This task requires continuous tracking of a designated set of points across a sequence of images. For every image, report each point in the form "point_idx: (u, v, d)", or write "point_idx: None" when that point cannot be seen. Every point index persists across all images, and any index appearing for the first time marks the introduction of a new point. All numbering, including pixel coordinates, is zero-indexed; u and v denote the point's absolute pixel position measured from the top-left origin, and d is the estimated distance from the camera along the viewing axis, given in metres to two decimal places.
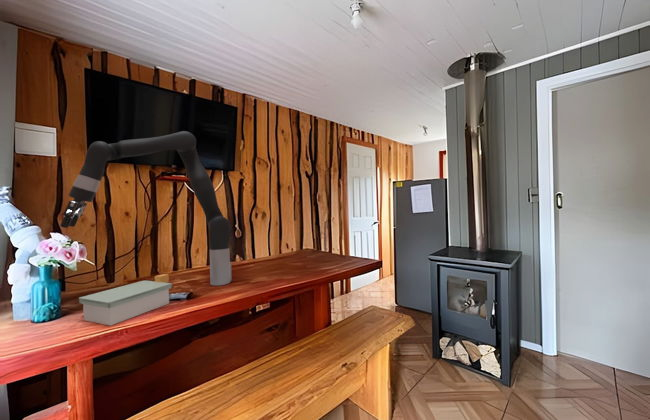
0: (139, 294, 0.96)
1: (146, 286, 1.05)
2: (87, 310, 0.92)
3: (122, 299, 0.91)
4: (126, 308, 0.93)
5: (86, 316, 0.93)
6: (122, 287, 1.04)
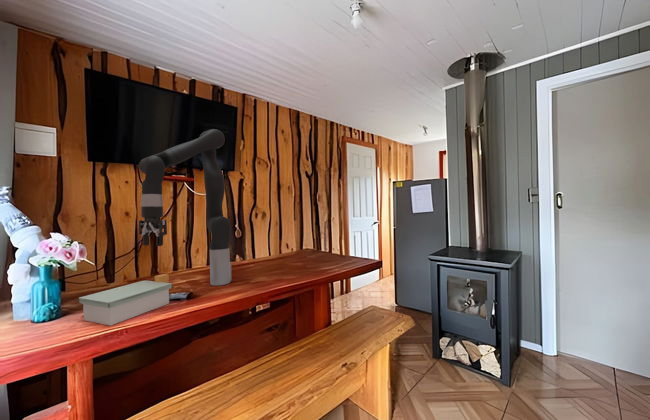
0: (139, 294, 0.96)
1: (146, 286, 1.05)
2: (87, 310, 0.92)
3: (122, 299, 0.91)
4: (126, 308, 0.93)
5: (86, 316, 0.93)
6: (122, 287, 1.04)
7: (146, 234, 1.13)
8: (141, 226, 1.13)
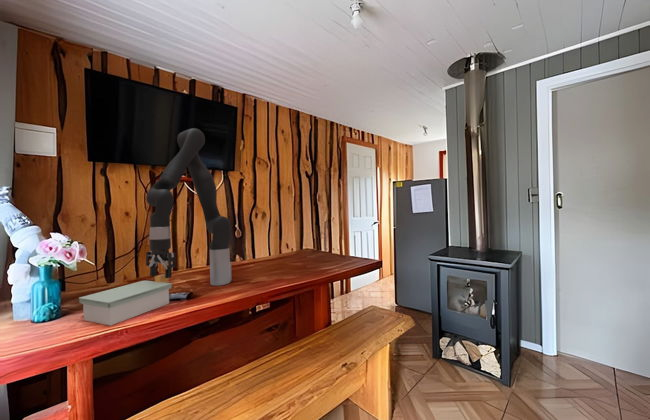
0: (139, 294, 0.96)
1: (146, 286, 1.05)
2: (87, 310, 0.92)
3: (122, 299, 0.91)
4: (126, 308, 0.93)
5: (86, 316, 0.93)
6: (122, 287, 1.04)
7: (153, 265, 1.14)
8: (148, 257, 1.14)
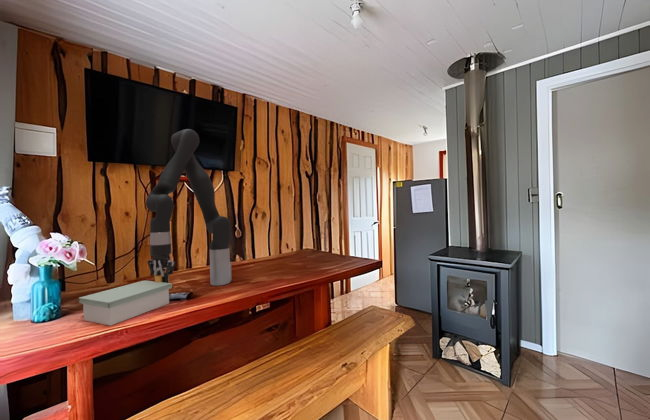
0: (139, 294, 0.96)
1: (146, 286, 1.05)
2: (87, 310, 0.92)
3: (122, 299, 0.91)
4: (126, 308, 0.93)
5: (86, 316, 0.93)
6: (122, 287, 1.04)
7: (158, 273, 1.14)
8: (151, 265, 1.14)
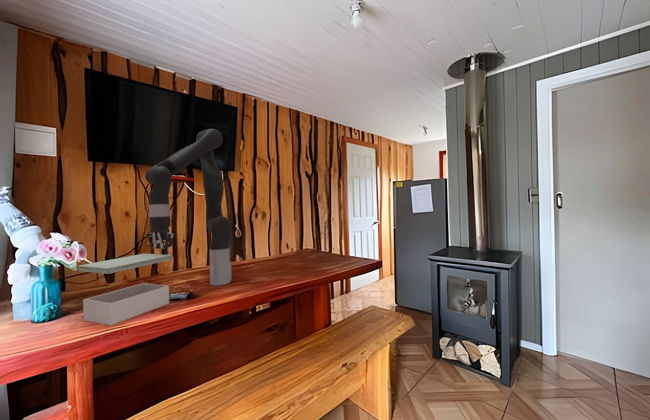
0: (139, 263, 0.96)
1: (146, 257, 1.04)
2: (87, 310, 0.92)
3: (122, 266, 0.91)
4: (126, 308, 0.93)
5: (86, 316, 0.93)
6: (121, 258, 1.04)
7: (158, 246, 1.13)
8: (150, 238, 1.13)
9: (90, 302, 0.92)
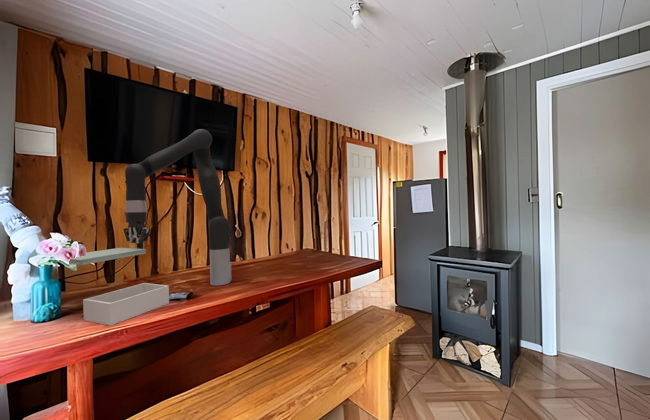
0: (112, 255, 1.01)
1: (120, 250, 1.09)
2: (87, 310, 0.92)
3: (94, 258, 0.96)
4: (126, 308, 0.93)
5: (86, 316, 0.93)
6: (97, 251, 1.08)
7: (134, 240, 1.18)
8: (127, 233, 1.18)
9: (90, 302, 0.92)
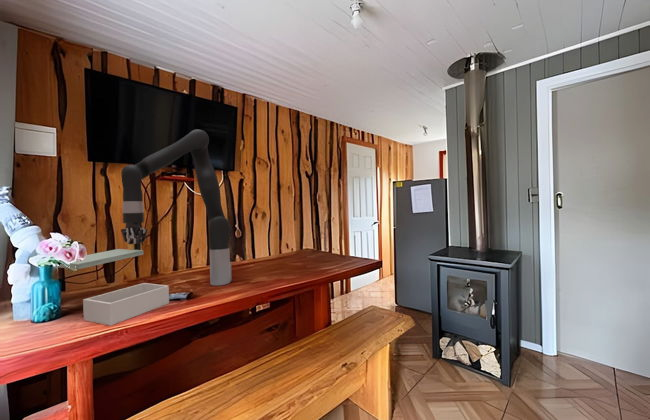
0: (109, 258, 1.02)
1: (118, 252, 1.10)
2: (87, 310, 0.92)
3: (92, 262, 0.97)
4: (126, 308, 0.93)
5: (86, 316, 0.93)
6: (95, 254, 1.10)
7: (131, 241, 1.19)
8: (124, 234, 1.19)
9: (90, 302, 0.92)
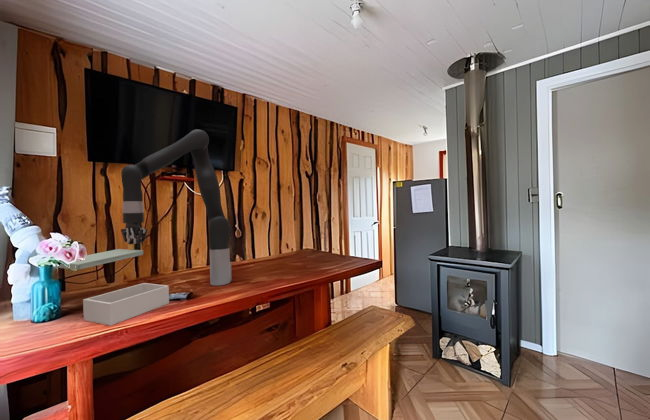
0: (109, 258, 1.02)
1: (118, 253, 1.10)
2: (87, 310, 0.92)
3: (92, 262, 0.97)
4: (126, 308, 0.93)
5: (86, 316, 0.93)
6: (95, 254, 1.10)
7: (131, 241, 1.19)
8: (124, 234, 1.19)
9: (90, 302, 0.92)
